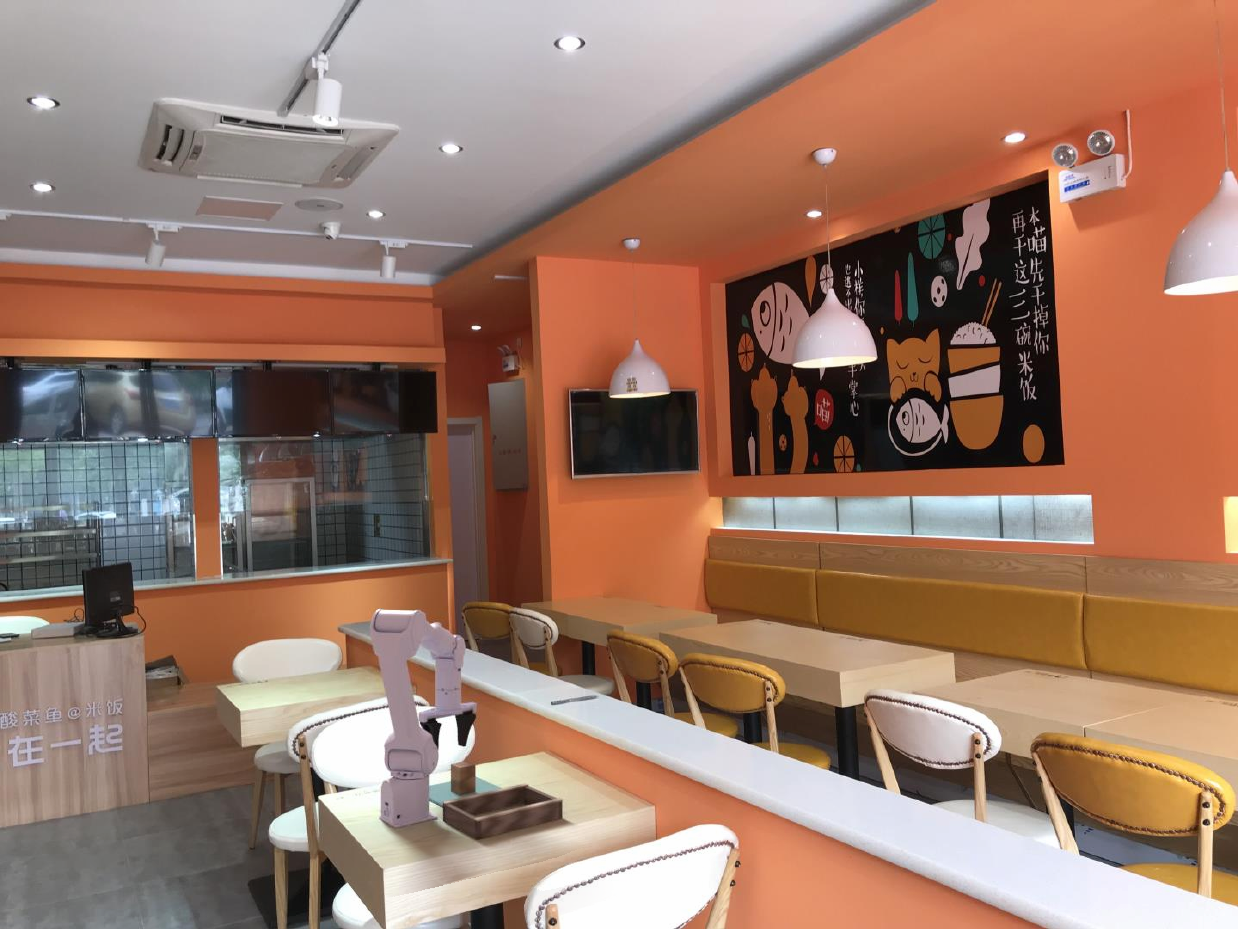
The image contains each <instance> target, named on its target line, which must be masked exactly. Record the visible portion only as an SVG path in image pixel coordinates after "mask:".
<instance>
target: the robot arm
mask: <svg viewBox="0 0 1238 929" xmlns="http://www.w3.org/2000/svg"><path fill="white" fill-rule="evenodd" d="M426 615H427V614H426V612H423V611H422V610H421V609H416V610H405V609H404V610H403V609H402V610H399V609H396V610H395V609H384V608H379V609H377V610H376V611H375V612H374V614H373V615H372V617H371V621H370V625H369V630H368V631H369V634H370V639H371V645H372V649H373V652H374V653H373V654H374V655H376V657H377V658H378V663H379V664H378V665H379V668H380V673H381V677H382V682H383V687H384V692H385V697H386V700H387V702H386V703H387V705H388V711H389V715H390V720H391V725H392V729H393V732H391V733H390V734H389V735H388V737H387V739H386V740H385V742H384V745H383V747H384V757H383V758H384V766H385V767H386V770H387V771H388V772H390V778H387V779H385V780H383V781H382V783H381V785H380V815H379V817H378V818H379V819H380V820H382V821H383V822H384V823H386V824H387V825H390V826H391V827H393V828H395V829H396V828H397V829H398V828H403V827H406V826H410V825H414V824H419V823H423V822H427V821H431V820H436V819H438V815H437V814H435V813H432V812H431V811H430V800H429V786H430V775H431V774H433V772H434V771H435V770H436V768H437V766H438V762H439V748H440V747H439V746H440V741H439V739H440V734H441V732H440V731H441V728H442V722H439V721H438V719H443V718H448V717H452V716H454V718H455V722H456V729H457V745H458V746H460V747H463V748H464V747H466V746H467V742H468V738H469V735H470V731H471V730H472V726H473V724H474V723H475V721H476V719H477V714H476V713H477V711H478V707H477V705H478V703H477V702H472V701H470V702H464V703H462V667H463V666H464V657H465V654H466V648H467V646H466V642H465V639H464V637H462V636H461V635H460V634H453V633H451V632H450V630H449V629H445V628H444V627H443V626H442V625H443V624H442V623H441V622H433V623H430V622H429V621H428V620H427V616H426ZM420 646H422V647H423V648H425V649H426V650H428V652H430V656H431V658H432V660H434V661H435V662H434V663H435V669H434V670H435V671H434V672H435V677H434V678H435V679H434V680H435V682H434V685H435V689H434V690H435V694H434V695H435V696H434V697H435V699H434V700H435V702H434V703H435V707H432V708H429V709H426V710H424V711H419V712H417V711H418V710H417V708H416V707H417V706H416V701H415V697H414V692H413V686H412V681H411V678H410V673H409V667H408V663H407V661H408V660H409V659H411V658H413V657H415V656H416V654H417V651H418V650H419V648H420Z"/></svg>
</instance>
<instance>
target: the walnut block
mask: <svg viewBox="0 0 1238 929" xmlns="http://www.w3.org/2000/svg"><path fill="white" fill-rule="evenodd" d="M476 765H477V764H475V763H472V762H471V761H468V760H465V761H460V762H455V763H451V764H450V781H451V792H453V793H455V794H458V795H464V794H469V793H473V792H476V777H477V776H476V772H477V771H476Z"/></svg>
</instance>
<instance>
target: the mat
mask: <svg viewBox="0 0 1238 929" xmlns="http://www.w3.org/2000/svg"><path fill="white" fill-rule="evenodd" d="M503 788H504V787H500V786H498V785H495V784H494V783H491V782H489V781H486V780H485V779H482V778H480V777H478V776H476V792H473V793H469V794H464V795H458V794H455V793H453V792H451V780H450V781H445V782H440V783H436V784H432V785H430V784H429V802H432V803H433V804H435V803H436V805H437V804H438V805H437V806H439V807H441V808H443V802H444V801H449V800H453V799H458V798H462V797H467V796H471V795H476V794H480V793H485V792H489V791H494V790H498V789H503Z"/></svg>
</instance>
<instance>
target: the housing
mask: <svg viewBox="0 0 1238 929" xmlns="http://www.w3.org/2000/svg"><path fill="white" fill-rule="evenodd" d="M502 788H503V789H498V790H494V791H489V792H485V793H480V794H476V795H471V796H467V797H462V798H458V799H453V800H449V801H444V802H443V807H442V822H444V823H446V824H447V825H450V826H452V827H453V828H455V829H457V830H459V831H461V832H463V833H464V834H466V835H468V836H470V837H472V838H473V839H475V840H482V839H486V838H490V837H493V836H497V835H501V834H505V833H509V832H513V831H516V830H520V829H524V828H529V827H532V826H536V825H539V824H544V823H547V822H552V821H555V820H559V819H562V818H563V817H564V816H563V810H564V809H563V807H564V806H563V805H564V804H563V802H564V799H563V798H561V797H555V796H553V795H550V794H548V793H546V792H544V791H541V790H538V789H535V788H534V787H533V786H529V784H527V783H521V784H516V785H513V786H508V787H502ZM523 804H525V806H520V807H515V806H519V805H523ZM509 807H510V808H511V807H515V808H512V809H507V810H504V811H499V812H495V813H491V814H488V815H482V816H477V817H476V815H480V814H485V813H489V812H493V811H498V810H502V809H505V808H509Z"/></svg>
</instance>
